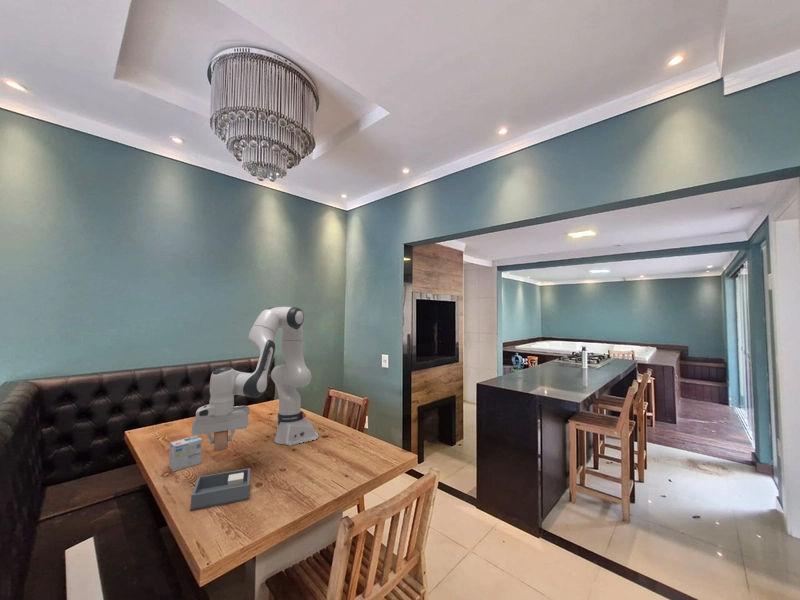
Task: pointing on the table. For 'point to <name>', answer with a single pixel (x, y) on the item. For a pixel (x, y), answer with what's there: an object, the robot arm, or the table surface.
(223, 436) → the tan rounded cylinder
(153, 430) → the table surface
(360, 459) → the table surface
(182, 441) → the light bulb box
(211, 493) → the box
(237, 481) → the cream cube
